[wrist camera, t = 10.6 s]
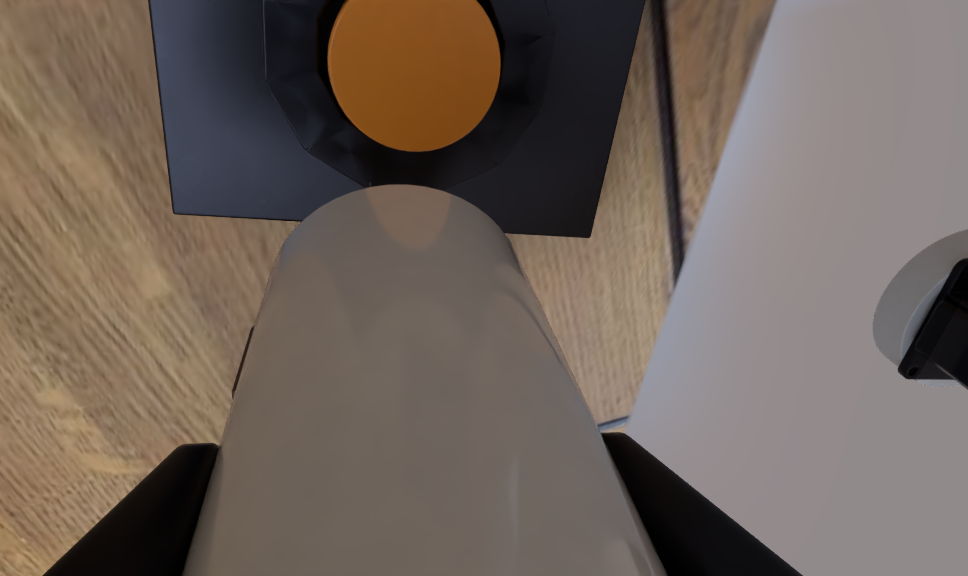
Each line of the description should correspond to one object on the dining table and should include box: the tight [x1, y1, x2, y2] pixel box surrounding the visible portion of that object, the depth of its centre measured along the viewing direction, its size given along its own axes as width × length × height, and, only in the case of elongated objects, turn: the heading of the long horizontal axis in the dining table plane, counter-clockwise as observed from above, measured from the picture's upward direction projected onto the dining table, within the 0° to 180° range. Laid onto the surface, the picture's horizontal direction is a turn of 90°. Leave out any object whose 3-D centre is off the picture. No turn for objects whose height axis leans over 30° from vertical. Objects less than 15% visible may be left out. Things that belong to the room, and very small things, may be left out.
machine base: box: [148, 0, 645, 238], centre depth 16 cm, size 12×10×4 cm
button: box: [327, 0, 501, 152], centre depth 14 cm, size 4×4×2 cm
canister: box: [181, 185, 668, 576], centre depth 7 cm, size 5×5×9 cm
